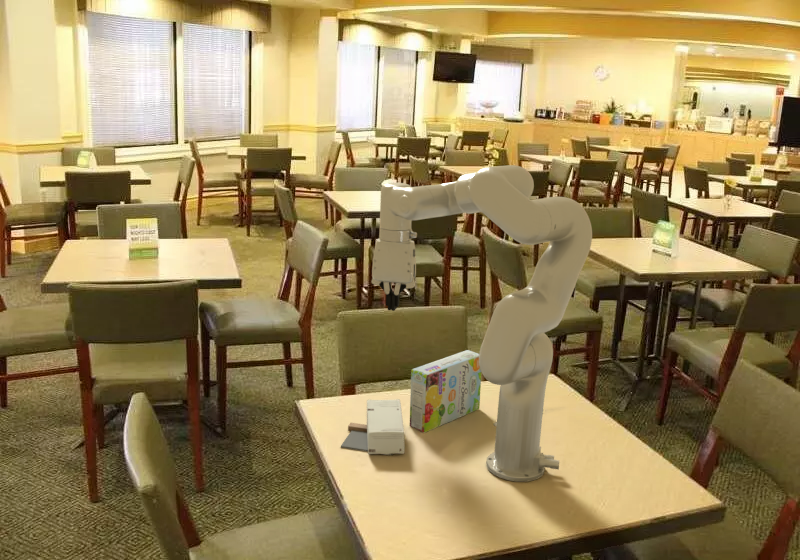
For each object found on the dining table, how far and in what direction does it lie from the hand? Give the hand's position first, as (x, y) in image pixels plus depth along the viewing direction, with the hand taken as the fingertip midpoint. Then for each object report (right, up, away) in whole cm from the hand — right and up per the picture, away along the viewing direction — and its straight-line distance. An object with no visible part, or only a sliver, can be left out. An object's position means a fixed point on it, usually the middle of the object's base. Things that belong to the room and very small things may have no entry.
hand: (392, 308), depth 183 cm
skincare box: (-2, -24, -4) cm, 24 cm away
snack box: (+13, -28, +4) cm, 31 cm away
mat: (-5, -30, -11) cm, 33 cm away
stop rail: (-4, -29, -6) cm, 30 cm away
